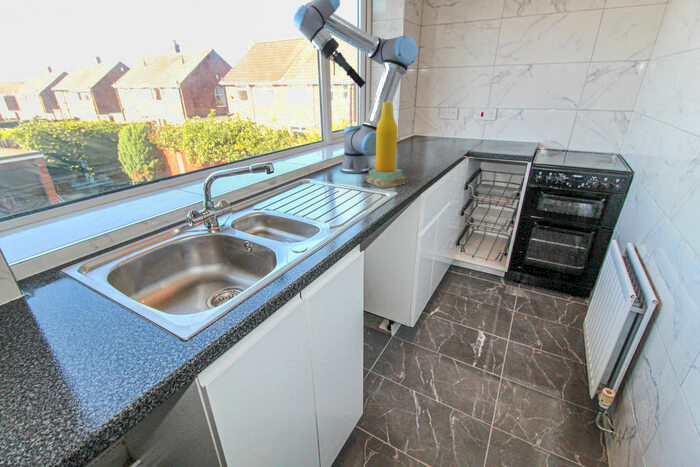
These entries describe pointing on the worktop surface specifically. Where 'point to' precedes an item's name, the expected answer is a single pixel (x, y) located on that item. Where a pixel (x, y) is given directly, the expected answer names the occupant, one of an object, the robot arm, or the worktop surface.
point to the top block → (385, 174)
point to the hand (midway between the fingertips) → (363, 85)
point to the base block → (385, 183)
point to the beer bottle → (386, 140)
